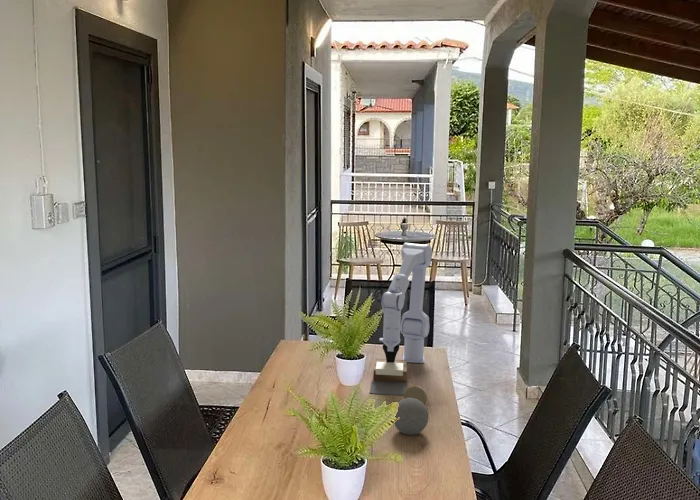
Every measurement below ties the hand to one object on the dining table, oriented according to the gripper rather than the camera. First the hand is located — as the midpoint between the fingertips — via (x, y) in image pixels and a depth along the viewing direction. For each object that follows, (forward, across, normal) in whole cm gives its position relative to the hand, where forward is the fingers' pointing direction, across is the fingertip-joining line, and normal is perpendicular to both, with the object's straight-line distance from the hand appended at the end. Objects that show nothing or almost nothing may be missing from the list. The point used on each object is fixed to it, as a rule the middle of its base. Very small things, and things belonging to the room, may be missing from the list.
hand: (390, 365), depth 223 cm
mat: (+5, +9, 0) cm, 10 cm away
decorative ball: (+5, +42, +7) cm, 43 cm away
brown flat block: (+5, -2, 0) cm, 5 cm away
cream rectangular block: (+1, +4, 0) cm, 4 cm away
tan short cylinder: (+5, +21, +9) cm, 23 cm away
